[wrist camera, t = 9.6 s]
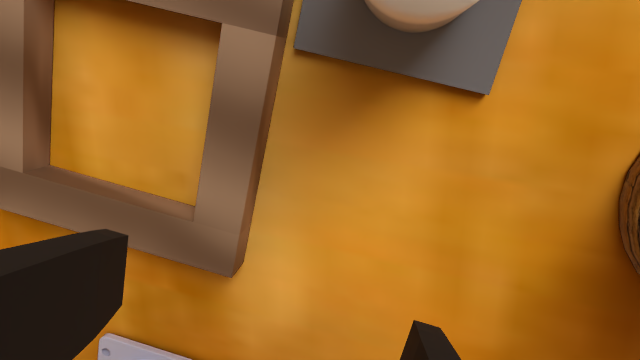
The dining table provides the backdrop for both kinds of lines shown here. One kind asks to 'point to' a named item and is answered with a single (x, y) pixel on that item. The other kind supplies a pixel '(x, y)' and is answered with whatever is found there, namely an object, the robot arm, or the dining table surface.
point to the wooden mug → (631, 215)
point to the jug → (417, 13)
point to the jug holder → (126, 203)
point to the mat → (412, 41)
